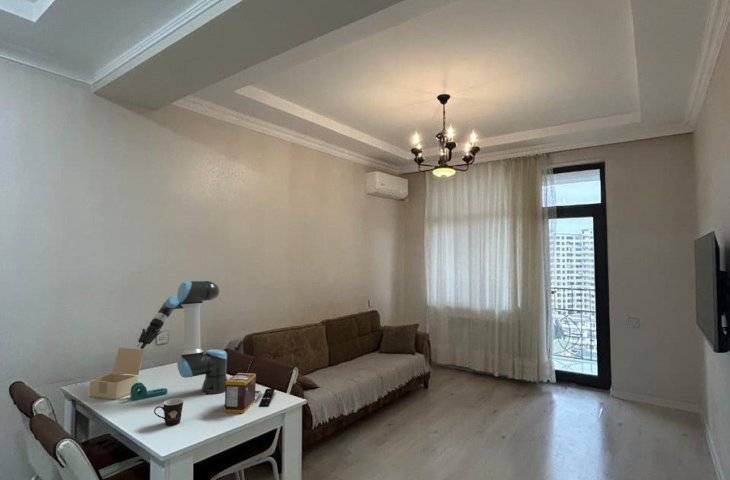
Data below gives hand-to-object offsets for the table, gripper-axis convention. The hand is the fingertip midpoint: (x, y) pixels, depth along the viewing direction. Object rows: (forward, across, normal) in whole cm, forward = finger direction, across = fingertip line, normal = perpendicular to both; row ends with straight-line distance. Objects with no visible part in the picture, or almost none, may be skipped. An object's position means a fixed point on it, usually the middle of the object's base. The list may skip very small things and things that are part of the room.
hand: (136, 352), depth 235 cm
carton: (+25, 0, -3) cm, 25 cm away
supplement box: (+23, -80, -5) cm, 83 cm away
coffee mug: (+42, -59, +14) cm, 74 cm away
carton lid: (+7, 0, +2) cm, 7 cm away
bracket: (+23, -22, -6) cm, 32 cm away
